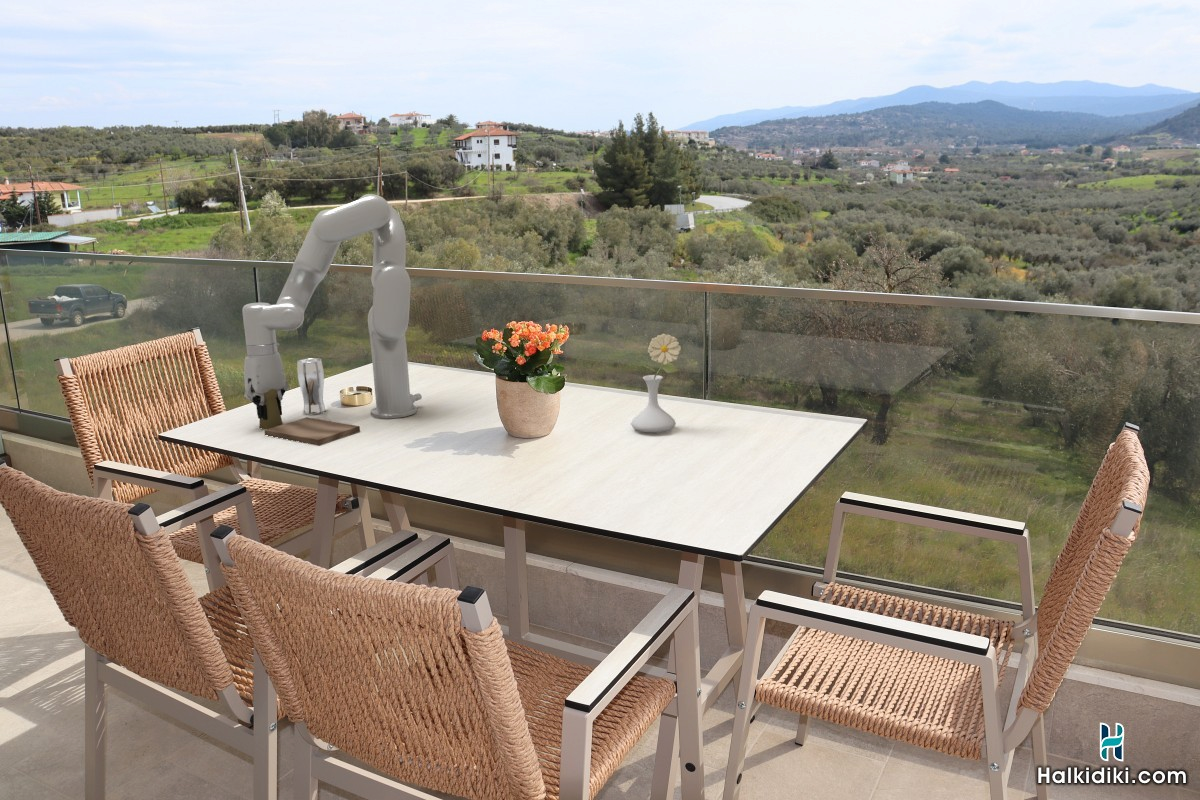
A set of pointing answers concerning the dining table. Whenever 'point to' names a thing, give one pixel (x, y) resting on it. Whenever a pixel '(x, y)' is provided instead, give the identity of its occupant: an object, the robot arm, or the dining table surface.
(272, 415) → the olive brown tapered piece
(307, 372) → the beer glass
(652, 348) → the flower in vase
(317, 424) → the walnut board
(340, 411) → the dining table surface
